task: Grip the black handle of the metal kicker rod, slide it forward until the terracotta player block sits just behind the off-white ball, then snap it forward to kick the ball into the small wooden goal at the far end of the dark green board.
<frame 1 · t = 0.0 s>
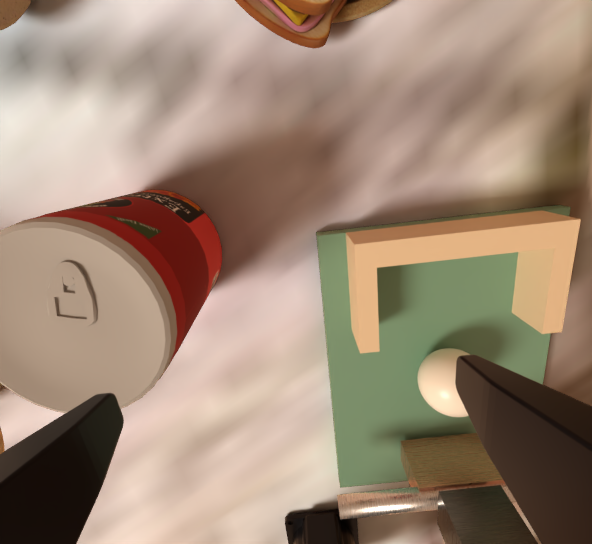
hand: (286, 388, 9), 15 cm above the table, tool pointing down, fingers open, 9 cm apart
canned food: (168, 248, 23), on the table
kicker rod: (469, 506, 22), point 6 cm above the table, slide at 0.0 cm
pitch: (432, 360, 26), on the table
ball: (452, 381, 23), point 3 cm above the table, touching pitch
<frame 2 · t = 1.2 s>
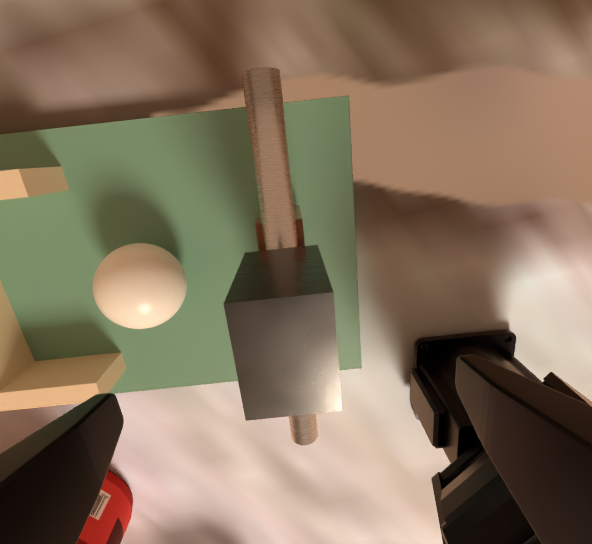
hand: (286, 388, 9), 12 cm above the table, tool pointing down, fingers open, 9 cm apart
canned food: (86, 493, 27), on the table
kicker rod: (286, 294, 14), point 6 cm above the table, slide at 0.0 cm
pitch: (171, 265, 20), on the table
ball: (142, 285, 17), point 3 cm above the table, touching pitch
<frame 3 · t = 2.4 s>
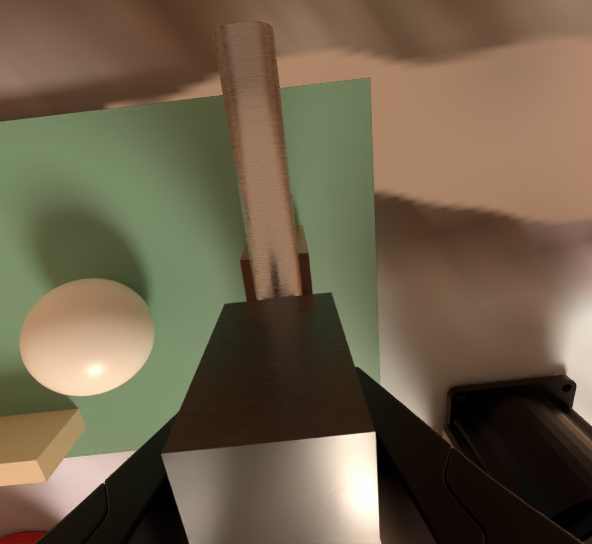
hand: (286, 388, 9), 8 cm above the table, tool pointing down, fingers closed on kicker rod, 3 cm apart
kicker rod: (286, 362, 10), point 6 cm above the table, slide at 0.0 cm, touching gripper
pitch: (140, 299, 16), on the table
ball: (93, 335, 13), point 3 cm above the table, touching pitch
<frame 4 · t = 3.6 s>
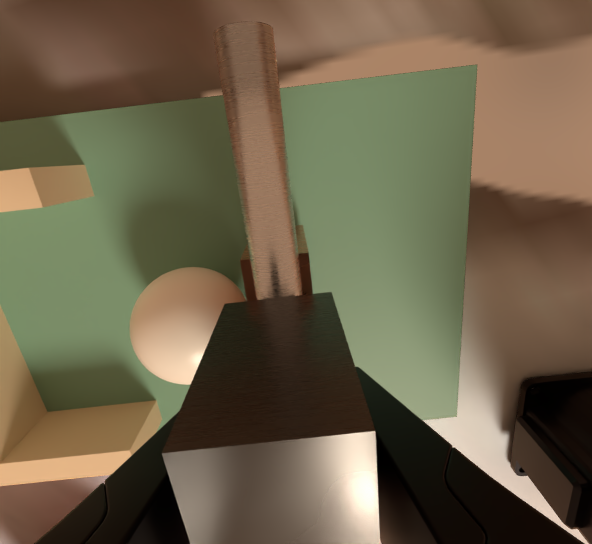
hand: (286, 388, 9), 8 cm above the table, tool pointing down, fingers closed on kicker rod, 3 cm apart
kicker rod: (286, 361, 10), point 6 cm above the table, slide at 3.9 cm, touching gripper
pitch: (221, 290, 16), on the table
ball: (193, 324, 13), point 3 cm above the table, touching pitch
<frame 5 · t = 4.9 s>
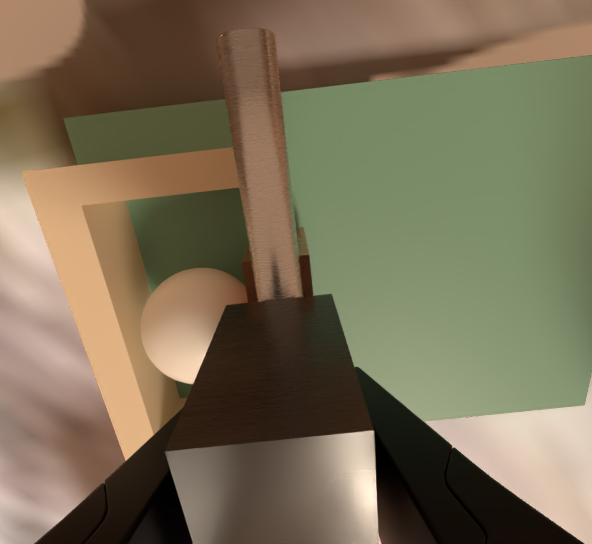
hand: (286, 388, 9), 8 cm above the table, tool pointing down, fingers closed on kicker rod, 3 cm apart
kicker rod: (287, 362, 10), point 6 cm above the table, slide at 10.5 cm, touching gripper
pitch: (361, 277, 16), on the table
ball: (202, 324, 13), point 3 cm above the table, tilted 160°, touching pitch
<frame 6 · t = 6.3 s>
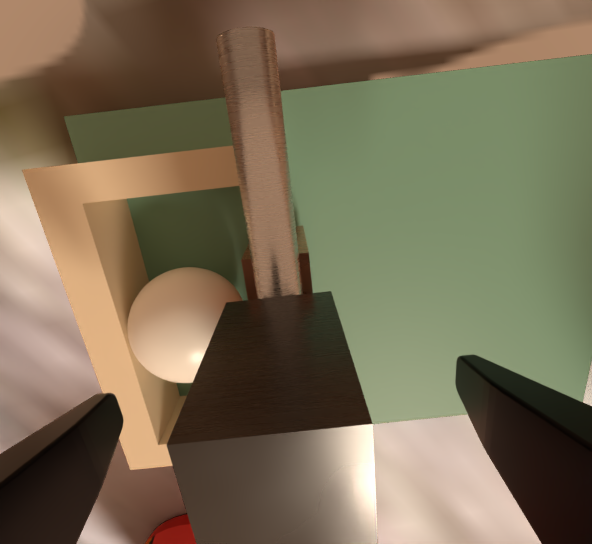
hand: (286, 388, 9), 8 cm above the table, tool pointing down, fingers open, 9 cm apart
kicker rod: (286, 359, 10), point 6 cm above the table, slide at 10.5 cm
pitch: (360, 275, 16), on the table
ball: (190, 323, 13), point 3 cm above the table, tilted 174°, touching pitch
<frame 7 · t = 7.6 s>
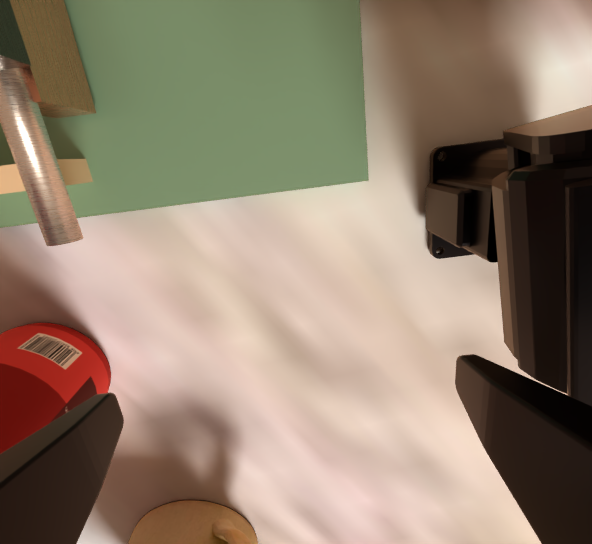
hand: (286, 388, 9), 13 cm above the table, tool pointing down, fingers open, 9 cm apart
canned food: (58, 366, 24), on the table
pitch: (141, 46, 17), on the table
sugar bowl: (197, 525, 29), on the table
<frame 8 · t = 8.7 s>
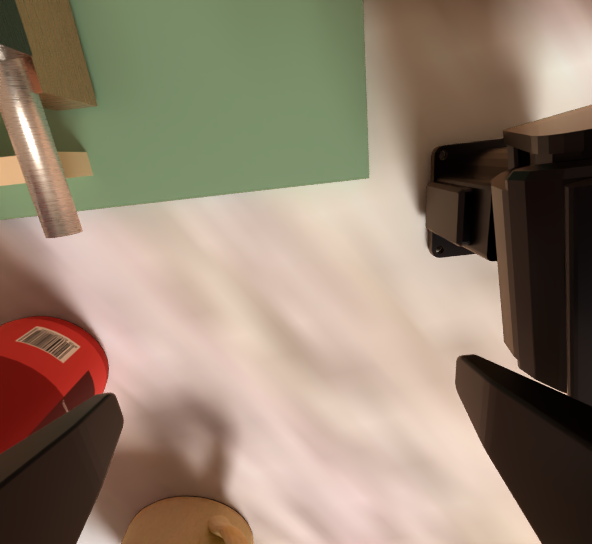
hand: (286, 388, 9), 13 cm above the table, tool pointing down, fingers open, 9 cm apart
canned food: (56, 360, 24), on the table
pitch: (144, 39, 17), on the table
sugar bowl: (193, 522, 29), on the table
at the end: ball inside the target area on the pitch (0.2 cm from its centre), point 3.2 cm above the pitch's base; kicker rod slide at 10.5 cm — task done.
